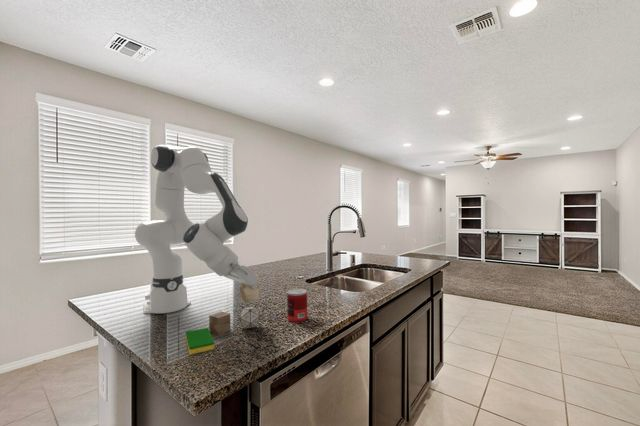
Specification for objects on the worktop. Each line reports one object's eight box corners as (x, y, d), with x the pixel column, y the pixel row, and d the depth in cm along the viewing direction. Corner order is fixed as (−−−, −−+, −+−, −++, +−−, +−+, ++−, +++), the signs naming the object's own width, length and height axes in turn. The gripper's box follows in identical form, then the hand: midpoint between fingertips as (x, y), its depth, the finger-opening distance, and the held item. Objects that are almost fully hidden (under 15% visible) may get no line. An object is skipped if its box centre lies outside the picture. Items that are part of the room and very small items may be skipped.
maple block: (240, 299, 106) (239, 275, 106) (252, 297, 109) (252, 273, 109) (246, 302, 102) (246, 277, 102) (259, 299, 105) (259, 274, 105)
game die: (252, 340, 104) (254, 324, 98) (232, 330, 106) (232, 313, 100) (265, 320, 111) (267, 304, 105) (245, 311, 113) (246, 295, 107)
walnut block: (209, 332, 102) (209, 315, 102) (221, 327, 107) (220, 311, 107) (218, 335, 100) (218, 318, 100) (230, 330, 104) (230, 313, 104)
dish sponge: (189, 356, 86) (189, 348, 86) (185, 338, 98) (185, 331, 98) (214, 350, 90) (214, 342, 90) (208, 334, 102) (208, 327, 102)
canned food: (310, 316, 117) (309, 289, 116) (302, 324, 109) (302, 294, 109) (292, 314, 119) (292, 287, 119) (284, 321, 111) (283, 293, 111)
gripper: (245, 258, 93) (271, 283, 100) (218, 252, 108) (243, 274, 115) (232, 274, 90) (260, 299, 97) (206, 266, 105) (232, 288, 112)
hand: (251, 286), depth 106 cm, fingers closed on maple block, 5 cm apart
